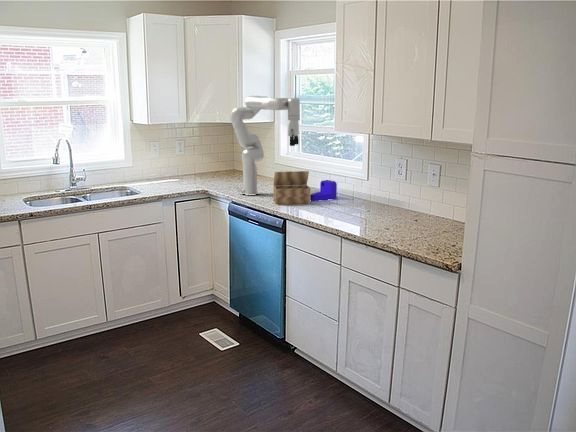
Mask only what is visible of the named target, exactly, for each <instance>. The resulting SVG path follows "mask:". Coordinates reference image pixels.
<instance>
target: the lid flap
mask: <svg viewBox="0 0 576 432" xmlns="http://www.w3.org/2000/svg"><path fill="white" fill-rule="evenodd" d="M309 174H310V171H309V170H298V171H297V170H293V171H291V170H289V171H286V170H285V171H274V175H273V183H272V184H273V185H272V186H290V185H307V186H308V180H309Z"/></svg>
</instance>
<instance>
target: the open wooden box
mask: <svg viewBox="0 0 576 432" xmlns="http://www.w3.org/2000/svg"><path fill="white" fill-rule="evenodd" d="M272 186H273V185H272ZM272 192H273V203H274V202H275V203H274V204H275V205H276V204H287V205H310V204H311V201H310V194H311V187H309V185H308V184H307V185H285V186H273V191H272Z"/></svg>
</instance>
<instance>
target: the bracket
mask: <svg viewBox="0 0 576 432" xmlns="http://www.w3.org/2000/svg"><path fill="white" fill-rule="evenodd" d="M319 184H320V185H319V186H320V188H319V190H320V191H317V192H315V193H310V200H311V201H310V202H320V201H319V200H323V201H329V200H328V199H333V200H336V199H337V192H338V191H337V189H338V187H337V182H336V181H335V180H330V179H329V180H328V179H324V180H321V181H320V183H319ZM335 198H336V199H335Z"/></svg>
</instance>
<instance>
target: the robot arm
mask: <svg viewBox="0 0 576 432" xmlns="http://www.w3.org/2000/svg"><path fill="white" fill-rule="evenodd" d="M300 103H301V102H300V99H299V98H298V97H297V98H296V97H293V98H292V97H289V98H288V97H269V96H267V95H266V96H263V95H250V96H247V97H246V98H245V101H244V105H245V106H240V107H235V108H233V109H232V111H231V112H230V123H231V125H232V127H233V130H234V133H235V136H236V138H237V141H238V144H239V146H240V147H241V148H247V149H244V150H243V151H242V153H241V161H242V172H243V174H242V175H243V178H242V179H243V180H242V181H243V187H241V188H236V192H239V193H242V194H259V193H260V192H259V191H258V168H257V165H256V163H257V162H261V161H262V160H263V159H264V157H265V152H264V148H263V146H262V143H261V140H260V138H259V136H258V135H257V134H256V133H254V132H249V131H248V127H247V125H246V123H245V122H244V120H251V119H252V120H253V118H254V117H255V116H256V115H257V114H258V113H260V111H261V110H268V111H287V121H288V129H287V131H288V132H287V135H288V137H289V146H290V147H295V146H296V145H299V143H300V142H299V135H300V131H299V127H300V124H299V121H300V118H301V113H300V110H301V108H300ZM258 192H259V193H258ZM242 194H241V195H242ZM259 195H260V194H259Z"/></svg>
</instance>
